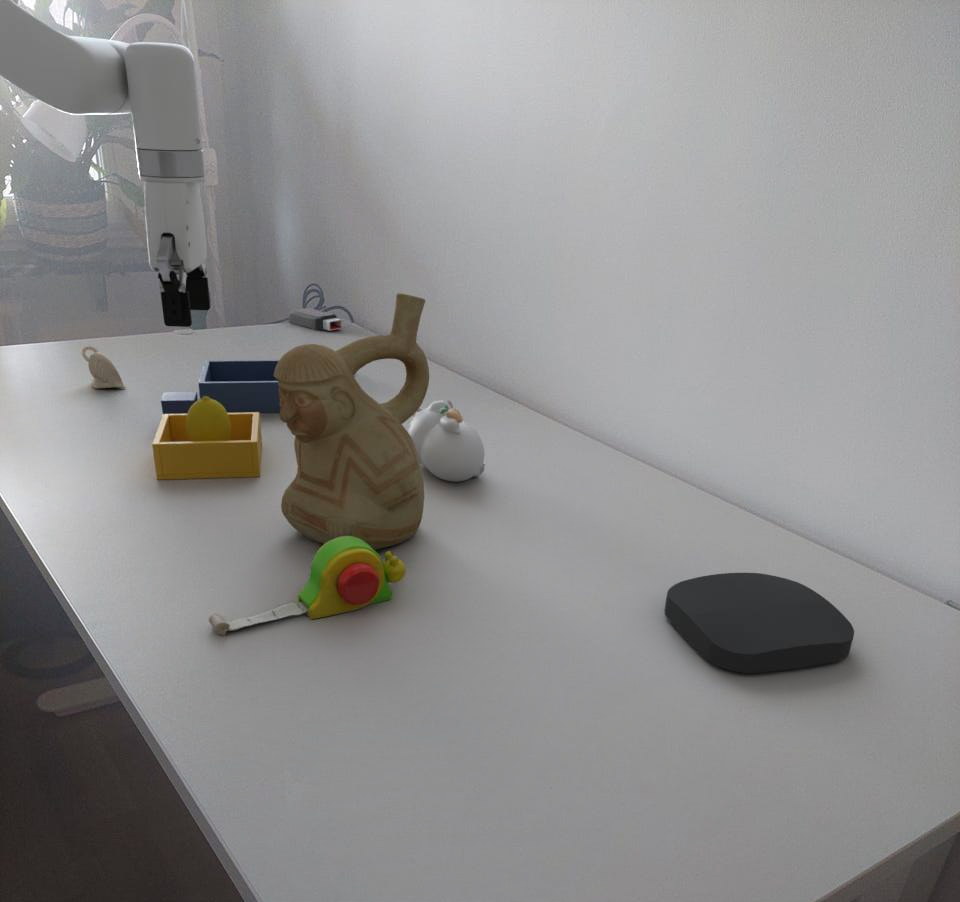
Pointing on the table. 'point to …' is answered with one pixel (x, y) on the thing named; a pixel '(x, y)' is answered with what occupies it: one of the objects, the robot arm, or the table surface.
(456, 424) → the cat figurine
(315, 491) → the ceramic vessel
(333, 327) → the usb drive
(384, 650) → the table surface
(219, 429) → the lemon
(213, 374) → the blue bin
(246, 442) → the yellow bin
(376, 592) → the toy measuring tape
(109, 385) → the decorative ornament
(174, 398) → the navy block
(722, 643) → the media streaming box
